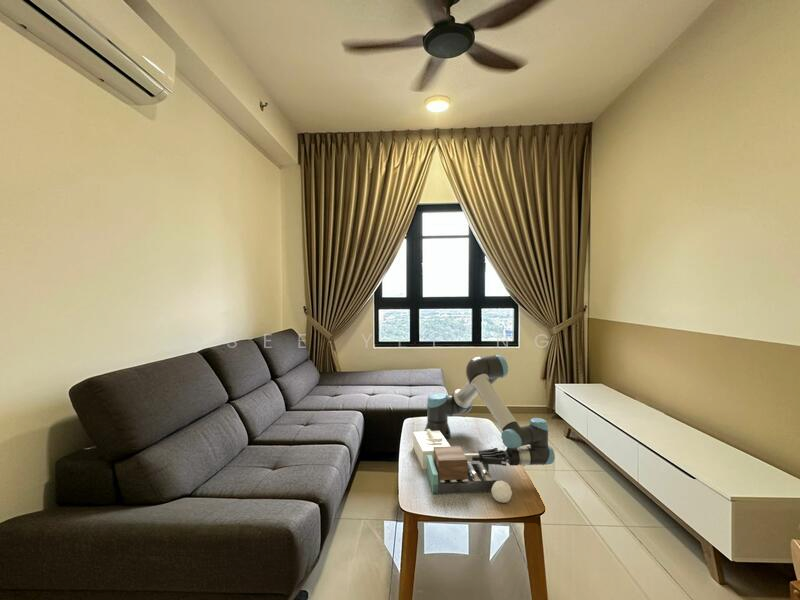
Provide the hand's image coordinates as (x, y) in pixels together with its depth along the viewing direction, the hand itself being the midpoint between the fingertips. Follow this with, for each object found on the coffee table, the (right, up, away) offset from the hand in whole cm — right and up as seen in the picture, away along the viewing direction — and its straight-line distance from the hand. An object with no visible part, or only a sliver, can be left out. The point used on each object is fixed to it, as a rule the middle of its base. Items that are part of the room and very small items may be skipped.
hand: (464, 457), depth 159 cm
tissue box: (-12, -11, +25) cm, 30 cm away
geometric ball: (+12, -11, -15) cm, 22 cm away
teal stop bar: (-14, -10, -1) cm, 18 cm away
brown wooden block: (-6, -6, 0) cm, 9 cm away
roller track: (-1, -10, 0) cm, 11 cm away
